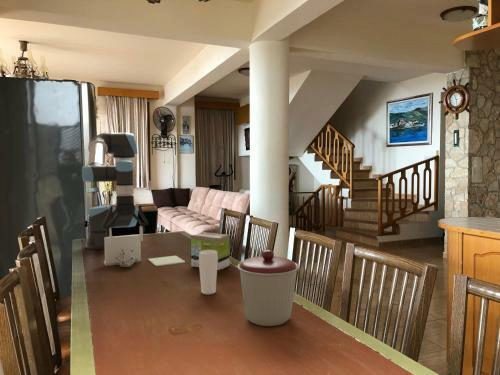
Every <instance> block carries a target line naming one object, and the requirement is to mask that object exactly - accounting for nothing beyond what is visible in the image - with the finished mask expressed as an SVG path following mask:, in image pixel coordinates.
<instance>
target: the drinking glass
mask: <svg viewBox="0 0 500 375" xmlns="http://www.w3.org/2000/svg"><path fill="white" fill-rule="evenodd" d="M217 264H218V256H217V251H215V250H203V251H200V252H199V267H198V268H199V278H200V292H201V293H202V294H203V295H212V294H215V293H216V291H217V278H218V275H217V274H218V271H217Z"/></svg>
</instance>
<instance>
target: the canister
mask: <svg viewBox="0 0 500 375" xmlns="http://www.w3.org/2000/svg"><path fill="white" fill-rule="evenodd" d="M237 270H239V275H240V283H241V290H242V292H241V294H242V299H243V308H244V312H245V316H246V319H247V320H249V322H251V323H252V324H254V325H257V326H262V327H277V326H280V325H284V324H285V323H286V322H288V321H289V319H290V317H291V315H292V310H293V304H294V297H295V286H296V278H297V277H296V276H297V271H298V270H299V265H298V264H297V263H296V262H294V261H293V260H292V259H289V258H287V257H283V256H275V252H274V251H273V250H270V249H266V250H265V249H264V250H263V251H262V252H261V256H252V257H248V258H246V259H244V260H243V261H242V262H239V263H238V264H237Z"/></svg>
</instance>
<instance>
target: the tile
mask: <svg viewBox="0 0 500 375" xmlns="http://www.w3.org/2000/svg"><path fill="white" fill-rule="evenodd" d="M147 260H148V261H149V262H150V263H151V264H152V265H154V266H155V267H161V266H171V265H179V264H185V263H186V261H185V260H183V258H180V257H179V256H177V255H170V256H161V257H160V256H159V257H153V258H147Z"/></svg>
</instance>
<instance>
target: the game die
mask: <svg viewBox="0 0 500 375" xmlns="http://www.w3.org/2000/svg"><path fill="white" fill-rule="evenodd" d="M132 251H133V250H132ZM132 251H123V250H122V252H121V254H120V255H119V256H118V257H116V259H118V261H119V268H120V269H121V268H122V267H123V268H125V267H126V268H130V269H132V267H131V266H132V265H133V264H134V261H135V260H137V259H135V256H134V254H133V252H132Z"/></svg>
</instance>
